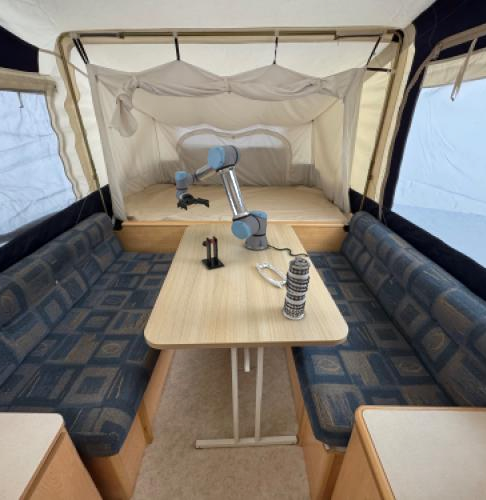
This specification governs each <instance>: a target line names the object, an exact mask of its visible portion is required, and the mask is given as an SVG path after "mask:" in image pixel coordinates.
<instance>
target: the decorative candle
mask: <svg viewBox="0 0 486 500" xmlns="http://www.w3.org/2000/svg"><path fill="white" fill-rule="evenodd" d="M288 265H289V266H288V270H287V272H286V274H285V277H286V284H285V291H286V293H285V297H284V301H283V303H284V304H283V315H284V316H285V317H286V318H288V319H290V320H296V321H297V320H301V319H303V318H304V315H305V309H306V302H307V300H306V294H307V292H308V291H309V290H308V289H309V284H310V278H311V276H309V275H310V267H311V263H310V262H309V261H308V259H306V258H304V257H301V256H300V257H297V256H296V257H294V258H292V259H291V260H289V261H288Z"/></svg>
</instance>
